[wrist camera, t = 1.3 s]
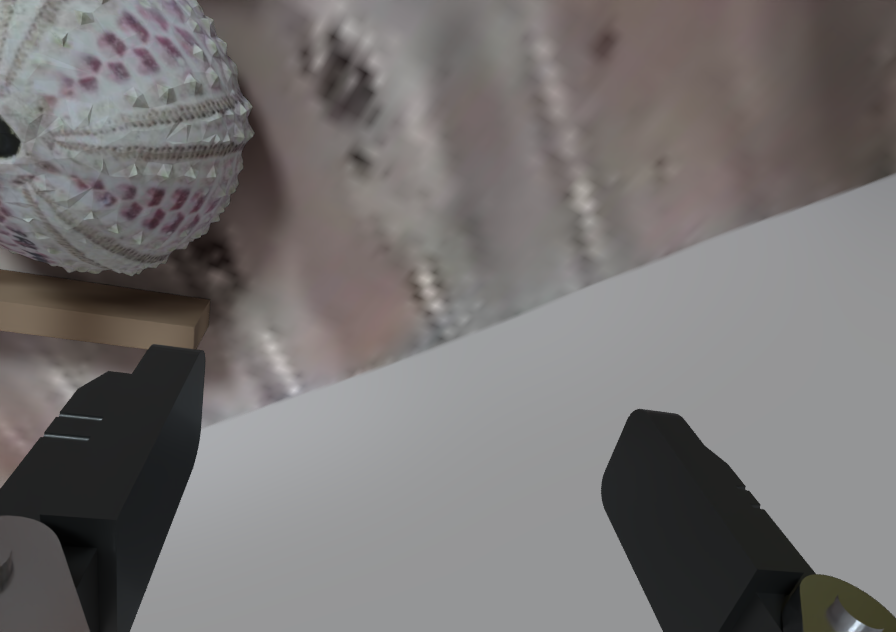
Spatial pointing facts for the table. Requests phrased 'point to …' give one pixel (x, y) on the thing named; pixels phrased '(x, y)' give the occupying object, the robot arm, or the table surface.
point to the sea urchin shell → (114, 130)
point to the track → (99, 312)
